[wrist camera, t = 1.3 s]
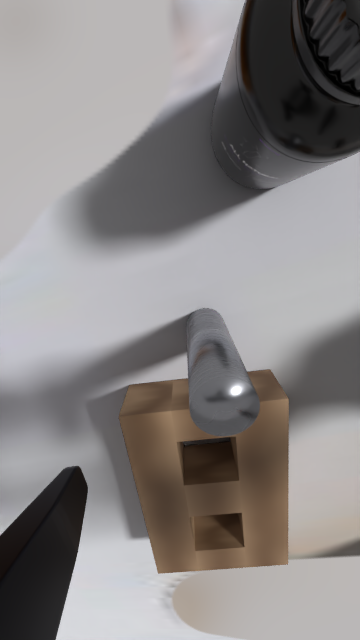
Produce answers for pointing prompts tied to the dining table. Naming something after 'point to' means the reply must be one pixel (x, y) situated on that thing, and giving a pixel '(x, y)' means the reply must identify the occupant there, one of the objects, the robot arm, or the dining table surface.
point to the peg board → (209, 479)
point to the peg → (217, 378)
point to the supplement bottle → (289, 91)
